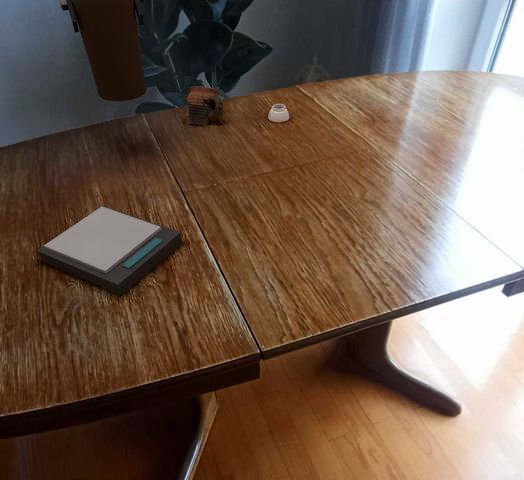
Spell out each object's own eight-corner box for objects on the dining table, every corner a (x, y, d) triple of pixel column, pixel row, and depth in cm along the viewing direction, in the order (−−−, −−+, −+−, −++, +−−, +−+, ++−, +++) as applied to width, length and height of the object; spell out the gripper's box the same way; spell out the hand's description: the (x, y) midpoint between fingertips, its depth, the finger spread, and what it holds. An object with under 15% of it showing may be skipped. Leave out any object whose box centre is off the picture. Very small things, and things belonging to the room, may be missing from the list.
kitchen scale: (42, 263, 74) (35, 247, 72) (107, 218, 83) (102, 202, 81) (122, 297, 68) (116, 281, 66) (183, 245, 77) (180, 229, 75)
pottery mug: (174, 124, 110) (176, 85, 108) (205, 131, 117) (207, 95, 114) (208, 123, 103) (210, 81, 100) (238, 130, 110) (241, 92, 107)
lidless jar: (283, 113, 112) (265, 117, 111) (284, 100, 110) (264, 104, 109) (292, 121, 109) (273, 125, 108) (293, 108, 107) (273, 112, 105)
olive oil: (139, 104, 87) (103, -74, 69) (86, 101, 89) (37, -75, 70) (157, 84, 94) (129, -83, 76) (108, 81, 96) (69, -84, 77)
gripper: (-7, -128, 73) (34, 16, 74) (139, -134, 78) (175, 1, 79) (7, -85, 80) (45, 45, 82) (140, -93, 85) (173, 29, 87)
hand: (109, 23), depth 81 cm, fingers closed on olive oil, 11 cm apart
